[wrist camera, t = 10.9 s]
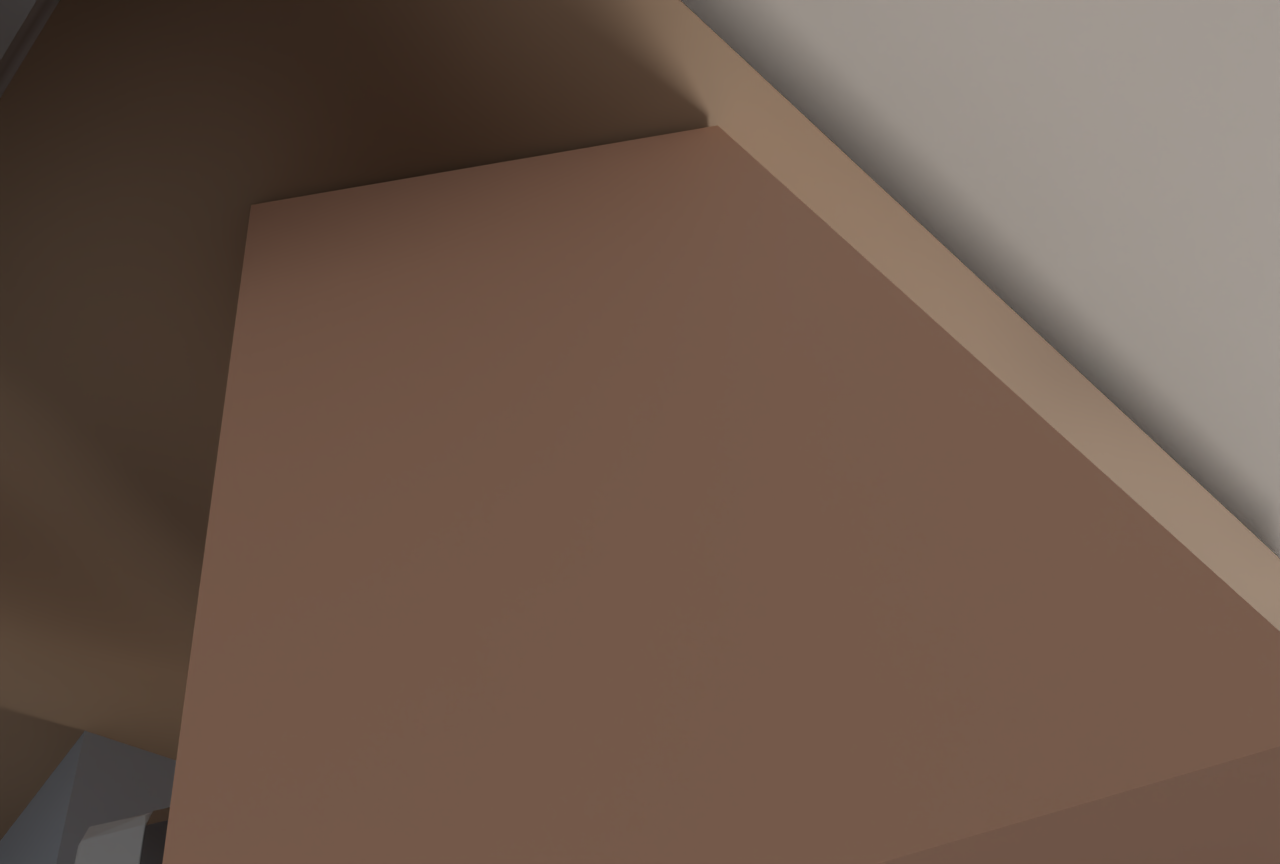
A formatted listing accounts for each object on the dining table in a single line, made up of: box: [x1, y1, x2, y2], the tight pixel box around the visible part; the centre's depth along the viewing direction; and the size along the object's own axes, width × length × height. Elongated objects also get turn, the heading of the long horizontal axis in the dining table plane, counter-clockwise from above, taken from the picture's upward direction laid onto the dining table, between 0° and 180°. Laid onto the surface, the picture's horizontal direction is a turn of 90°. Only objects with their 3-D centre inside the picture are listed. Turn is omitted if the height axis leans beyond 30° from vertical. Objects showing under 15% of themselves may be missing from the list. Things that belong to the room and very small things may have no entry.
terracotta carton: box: [162, 125, 1280, 864], centre depth 10 cm, size 5×8×9 cm, turn 5°
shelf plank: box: [0, 0, 1280, 841], centre depth 17 cm, size 20×24×4 cm
